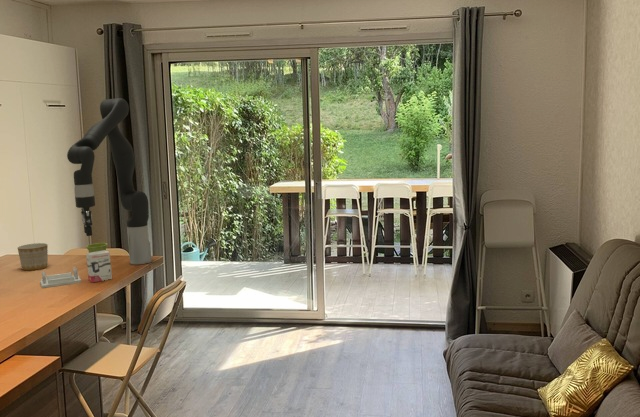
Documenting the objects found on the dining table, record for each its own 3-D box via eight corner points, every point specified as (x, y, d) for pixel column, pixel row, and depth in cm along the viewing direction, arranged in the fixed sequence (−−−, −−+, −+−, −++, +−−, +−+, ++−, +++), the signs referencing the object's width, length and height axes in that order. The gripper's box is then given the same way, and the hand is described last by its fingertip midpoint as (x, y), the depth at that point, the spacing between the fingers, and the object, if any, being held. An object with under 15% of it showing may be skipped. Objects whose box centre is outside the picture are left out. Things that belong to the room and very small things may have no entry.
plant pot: (97, 266, 299) (95, 247, 298) (83, 264, 304) (81, 246, 303) (113, 261, 307) (111, 243, 306) (99, 260, 312) (98, 242, 310)
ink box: (91, 282, 267) (88, 254, 266) (88, 280, 271) (85, 252, 270) (112, 279, 272) (110, 251, 270) (109, 277, 276) (106, 249, 274)
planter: (55, 265, 305) (53, 243, 303) (35, 271, 293) (33, 249, 291) (34, 264, 309) (31, 242, 307) (13, 270, 297) (11, 248, 296)
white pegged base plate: (78, 277, 278) (77, 265, 278) (81, 282, 269) (80, 270, 268) (40, 282, 272) (39, 270, 271) (41, 288, 262) (40, 275, 262)
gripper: (96, 196, 263) (99, 235, 265) (92, 193, 276) (96, 230, 278) (76, 197, 260) (80, 237, 262) (73, 194, 273) (77, 232, 275)
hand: (88, 234), depth 270 cm, fingers open, 8 cm apart
